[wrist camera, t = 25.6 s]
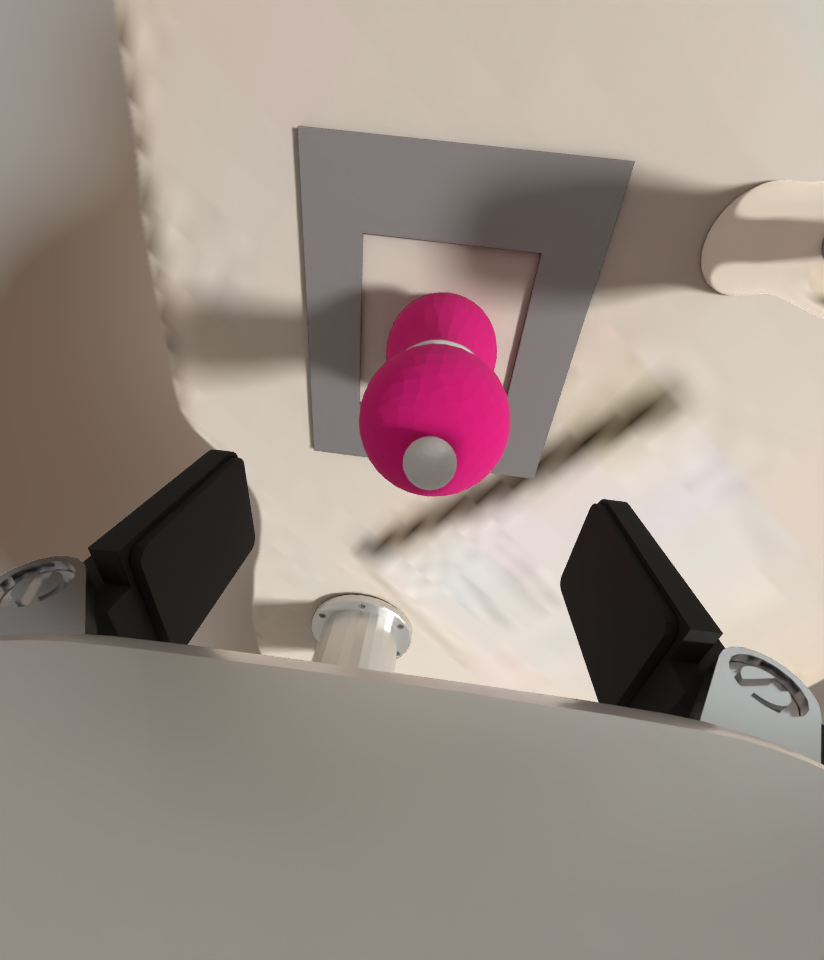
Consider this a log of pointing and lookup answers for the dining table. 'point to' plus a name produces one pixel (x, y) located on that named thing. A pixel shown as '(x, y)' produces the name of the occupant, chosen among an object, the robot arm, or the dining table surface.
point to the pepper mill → (436, 399)
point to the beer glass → (770, 245)
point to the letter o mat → (461, 220)
